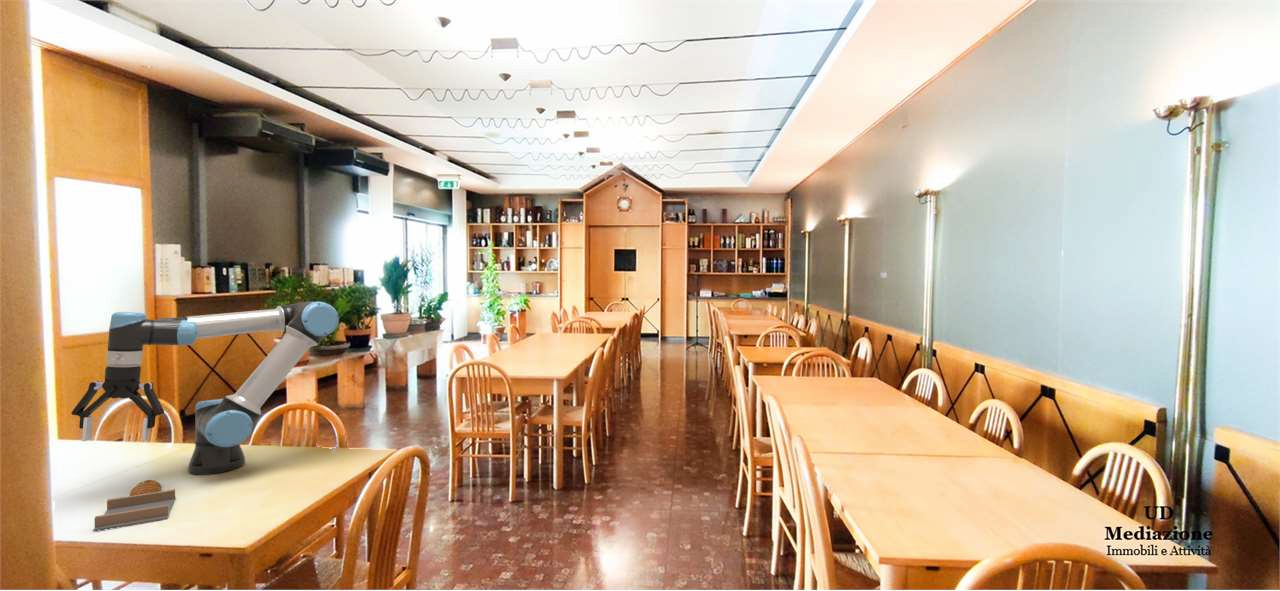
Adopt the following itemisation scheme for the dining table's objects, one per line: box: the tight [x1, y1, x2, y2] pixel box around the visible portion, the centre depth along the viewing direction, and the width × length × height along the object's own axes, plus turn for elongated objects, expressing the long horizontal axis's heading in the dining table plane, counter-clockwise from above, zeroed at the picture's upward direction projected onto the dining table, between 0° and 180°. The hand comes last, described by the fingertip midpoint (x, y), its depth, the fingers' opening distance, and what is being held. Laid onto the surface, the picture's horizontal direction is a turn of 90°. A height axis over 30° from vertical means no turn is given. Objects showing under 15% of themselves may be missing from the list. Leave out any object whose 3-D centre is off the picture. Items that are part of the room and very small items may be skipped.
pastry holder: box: [92, 488, 177, 532], centre depth 147 cm, size 14×17×3 cm
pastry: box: [129, 479, 163, 496], centre depth 159 cm, size 9×7×4 cm
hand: (116, 440), depth 157 cm, fingers open, 13 cm apart
